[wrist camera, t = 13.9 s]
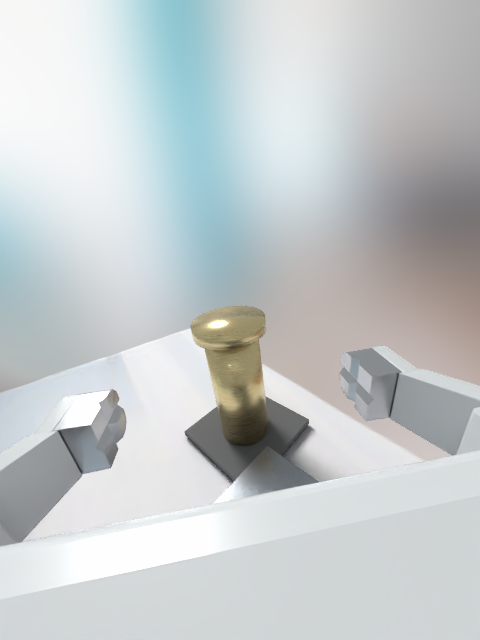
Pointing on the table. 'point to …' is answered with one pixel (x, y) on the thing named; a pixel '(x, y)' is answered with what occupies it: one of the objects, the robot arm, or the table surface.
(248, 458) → the mat
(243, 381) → the brass flanged peg
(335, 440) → the table surface
